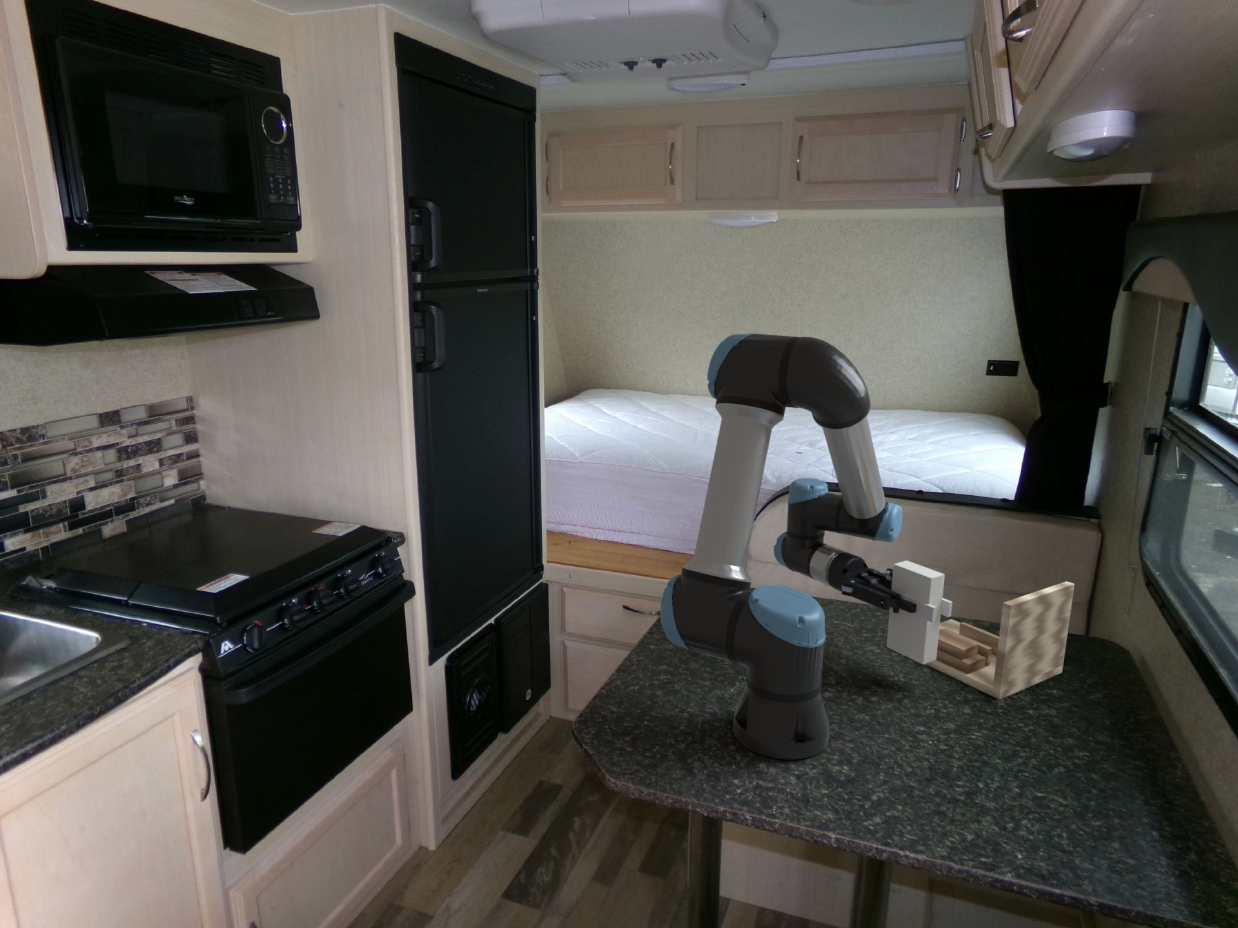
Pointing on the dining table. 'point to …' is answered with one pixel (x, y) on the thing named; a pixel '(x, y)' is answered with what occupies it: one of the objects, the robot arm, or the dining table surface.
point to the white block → (908, 629)
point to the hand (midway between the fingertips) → (942, 611)
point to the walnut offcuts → (959, 652)
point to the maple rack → (1018, 643)
